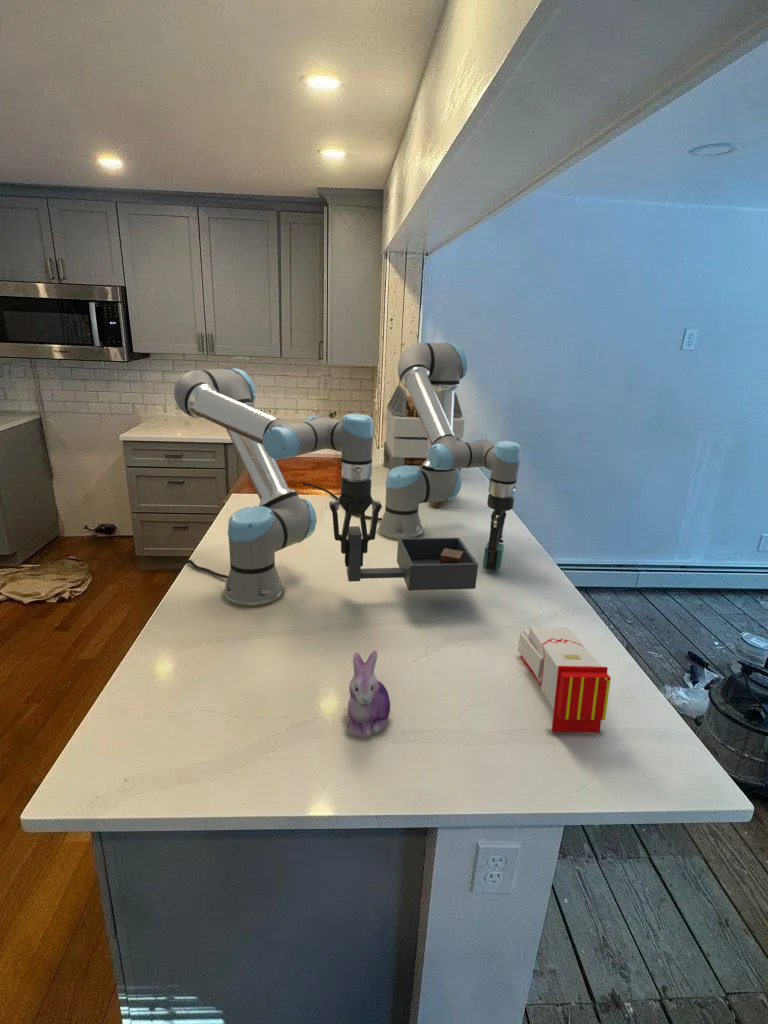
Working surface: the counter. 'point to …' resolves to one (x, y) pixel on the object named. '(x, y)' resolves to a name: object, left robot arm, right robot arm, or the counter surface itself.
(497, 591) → the counter surface
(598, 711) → the toy
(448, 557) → the walnut block
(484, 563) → the teal block
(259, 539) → the left robot arm
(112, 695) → the counter surface
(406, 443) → the grey slatted crate
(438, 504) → the fossil
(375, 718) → the figurine
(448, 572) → the box
